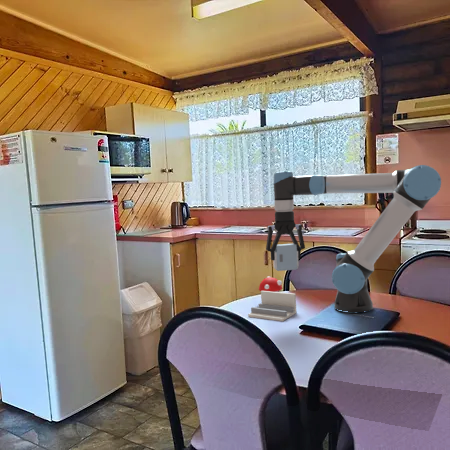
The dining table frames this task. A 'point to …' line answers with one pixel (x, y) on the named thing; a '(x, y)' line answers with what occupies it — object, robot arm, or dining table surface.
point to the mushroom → (270, 285)
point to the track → (275, 306)
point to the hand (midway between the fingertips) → (286, 267)
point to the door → (286, 257)
